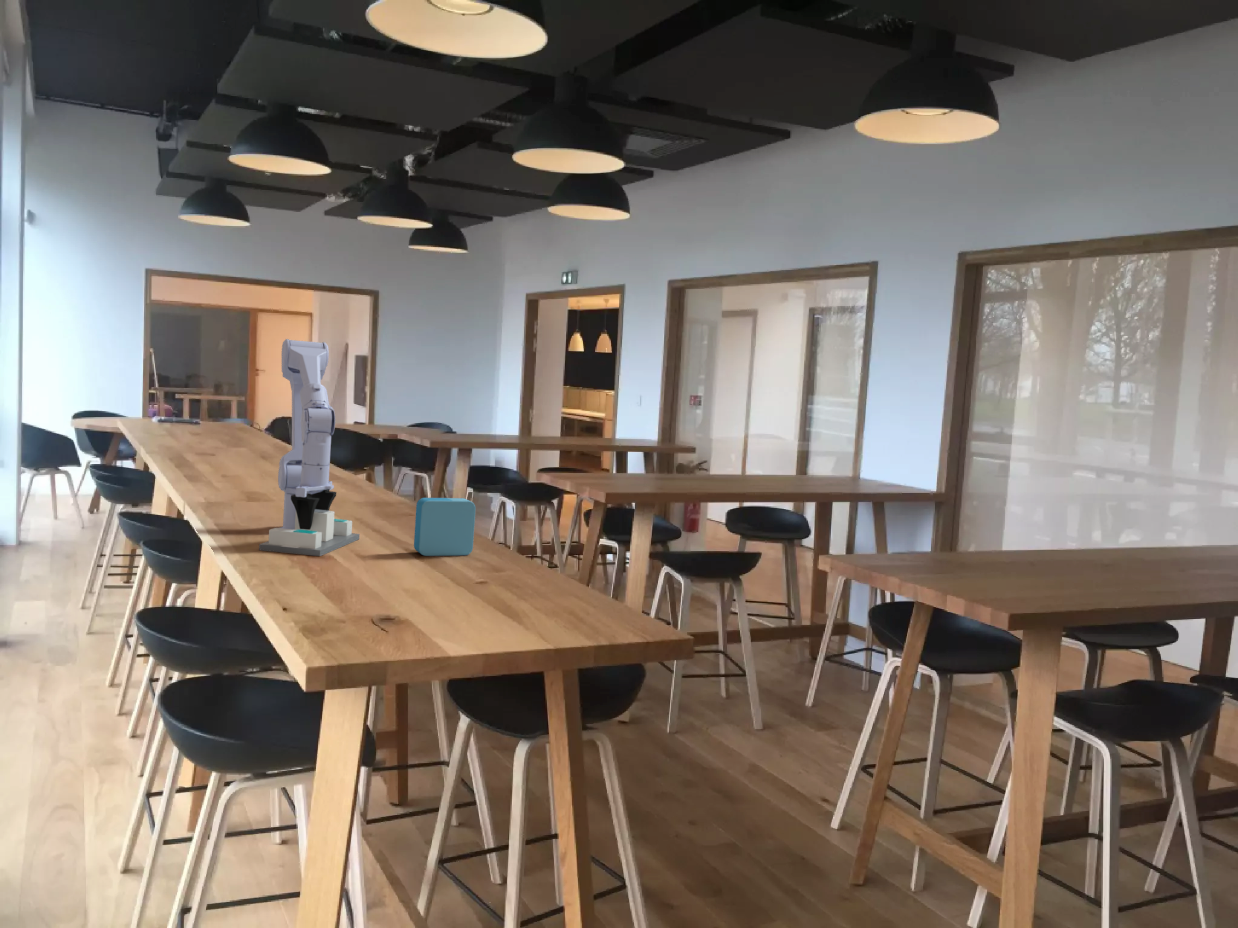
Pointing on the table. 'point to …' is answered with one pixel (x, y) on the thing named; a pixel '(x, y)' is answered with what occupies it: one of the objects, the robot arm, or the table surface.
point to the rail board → (313, 552)
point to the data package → (444, 526)
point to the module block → (321, 523)
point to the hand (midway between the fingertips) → (312, 526)
